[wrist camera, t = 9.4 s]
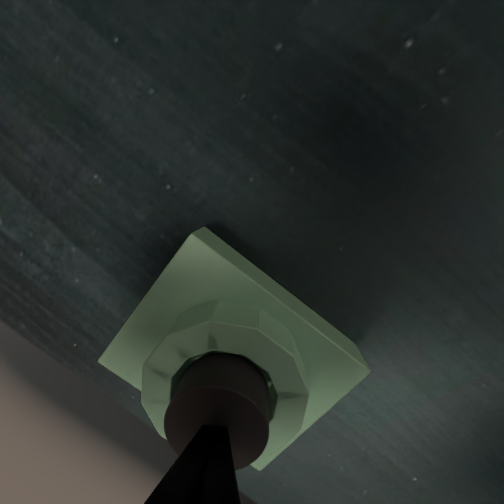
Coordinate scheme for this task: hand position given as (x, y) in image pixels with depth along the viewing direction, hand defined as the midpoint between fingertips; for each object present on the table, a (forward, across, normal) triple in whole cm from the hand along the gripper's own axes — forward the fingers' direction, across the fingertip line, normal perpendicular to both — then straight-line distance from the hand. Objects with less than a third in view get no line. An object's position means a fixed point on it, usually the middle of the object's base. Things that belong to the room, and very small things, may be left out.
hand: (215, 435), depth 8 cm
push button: (+2, 0, 0) cm, 2 cm away
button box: (+5, 0, 0) cm, 5 cm away
